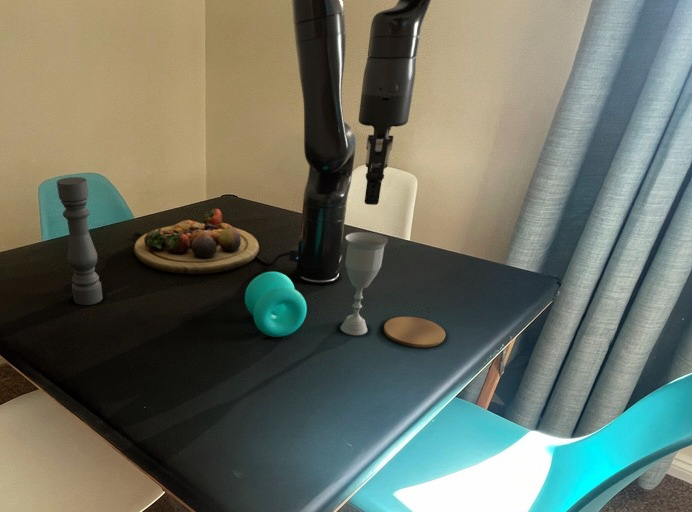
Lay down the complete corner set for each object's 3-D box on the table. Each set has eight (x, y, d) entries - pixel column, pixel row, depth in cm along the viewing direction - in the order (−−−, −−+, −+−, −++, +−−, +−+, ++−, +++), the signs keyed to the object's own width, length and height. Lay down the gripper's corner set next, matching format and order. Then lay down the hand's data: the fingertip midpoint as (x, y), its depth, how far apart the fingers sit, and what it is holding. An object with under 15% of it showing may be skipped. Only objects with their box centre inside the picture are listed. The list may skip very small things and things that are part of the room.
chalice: (375, 323, 108) (389, 234, 99) (371, 339, 103) (387, 247, 93) (337, 318, 110) (348, 230, 101) (332, 334, 105) (343, 242, 95)
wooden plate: (185, 224, 162) (184, 195, 157) (281, 245, 146) (283, 214, 141) (108, 257, 140) (104, 225, 135) (210, 287, 124) (210, 252, 119)
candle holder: (108, 295, 121) (94, 178, 107) (91, 307, 116) (75, 186, 103) (84, 290, 123) (68, 175, 110) (67, 302, 118) (48, 183, 105)
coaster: (382, 342, 102) (383, 339, 101) (384, 316, 111) (385, 313, 110) (446, 350, 99) (447, 348, 99) (443, 323, 108) (443, 320, 108)
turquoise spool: (290, 313, 112) (294, 267, 107) (306, 337, 104) (310, 288, 99) (242, 317, 111) (243, 271, 106) (254, 342, 102) (256, 293, 97)
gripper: (364, 85, 91) (353, 185, 100) (358, 95, 80) (346, 207, 88) (412, 85, 89) (396, 187, 98) (413, 96, 78) (395, 210, 86)
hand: (372, 196), depth 93 cm, fingers open, 8 cm apart
